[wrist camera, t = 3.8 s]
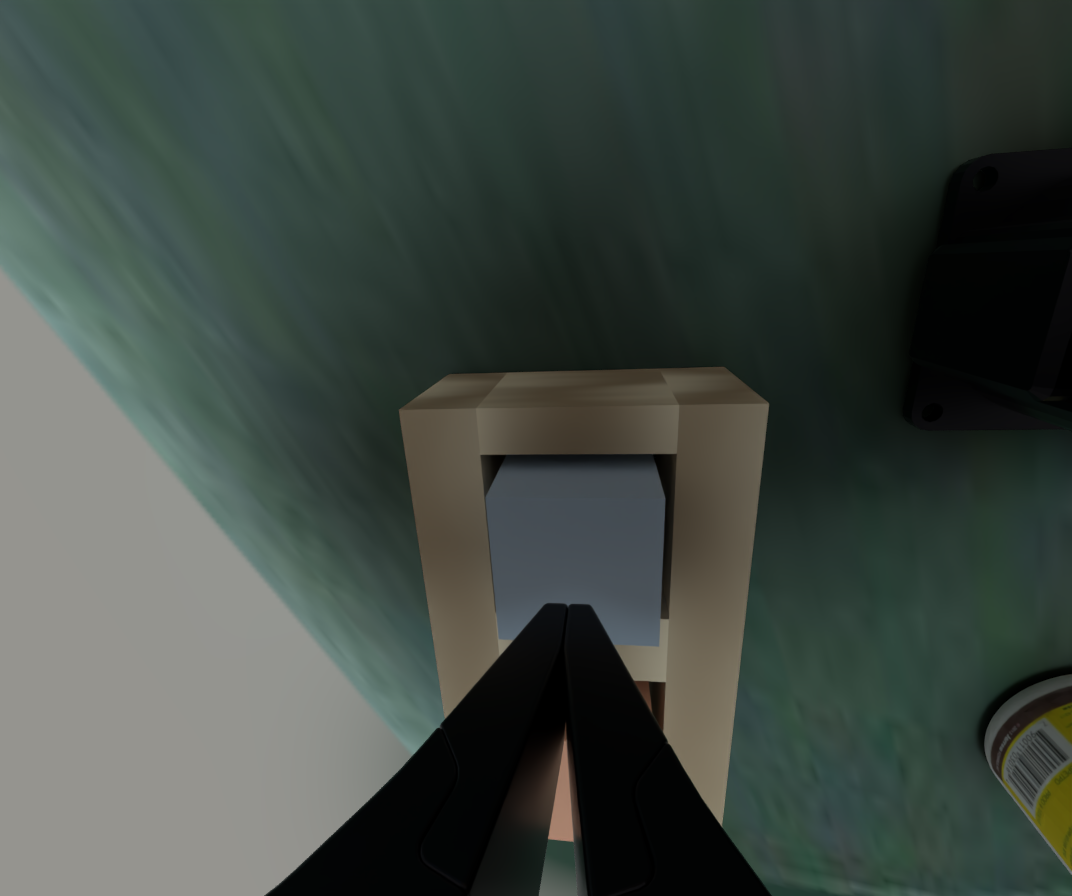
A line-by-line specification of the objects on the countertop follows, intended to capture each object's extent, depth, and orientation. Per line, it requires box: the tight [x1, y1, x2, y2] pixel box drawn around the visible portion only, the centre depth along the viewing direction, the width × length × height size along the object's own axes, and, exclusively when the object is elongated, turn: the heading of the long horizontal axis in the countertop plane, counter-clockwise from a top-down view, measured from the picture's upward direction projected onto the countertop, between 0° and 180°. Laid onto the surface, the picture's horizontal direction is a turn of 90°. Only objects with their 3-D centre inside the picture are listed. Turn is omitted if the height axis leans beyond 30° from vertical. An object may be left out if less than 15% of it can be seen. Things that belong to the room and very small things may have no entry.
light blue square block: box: [485, 454, 665, 647], centre depth 12 cm, size 4×4×3 cm
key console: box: [399, 367, 769, 826], centre depth 15 cm, size 8×13×4 cm, turn 3°
